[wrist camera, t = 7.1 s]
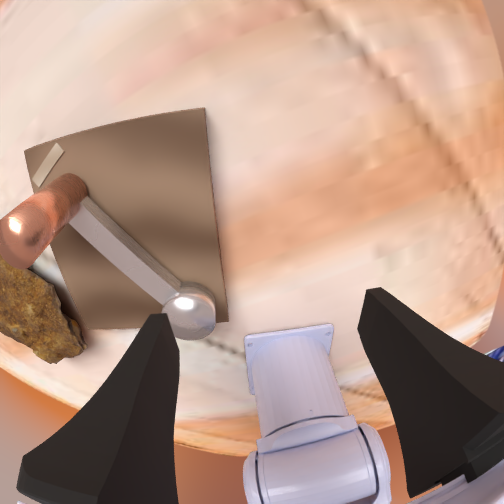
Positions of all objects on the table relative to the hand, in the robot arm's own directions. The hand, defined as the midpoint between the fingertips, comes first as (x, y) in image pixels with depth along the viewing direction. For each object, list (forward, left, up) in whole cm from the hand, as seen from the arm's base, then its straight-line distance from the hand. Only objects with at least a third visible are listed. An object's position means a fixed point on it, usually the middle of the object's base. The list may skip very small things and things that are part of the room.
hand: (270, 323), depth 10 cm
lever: (-1, +8, -9) cm, 12 cm away
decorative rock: (-5, +21, -11) cm, 24 cm away
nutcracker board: (-1, +8, -10) cm, 13 cm away
